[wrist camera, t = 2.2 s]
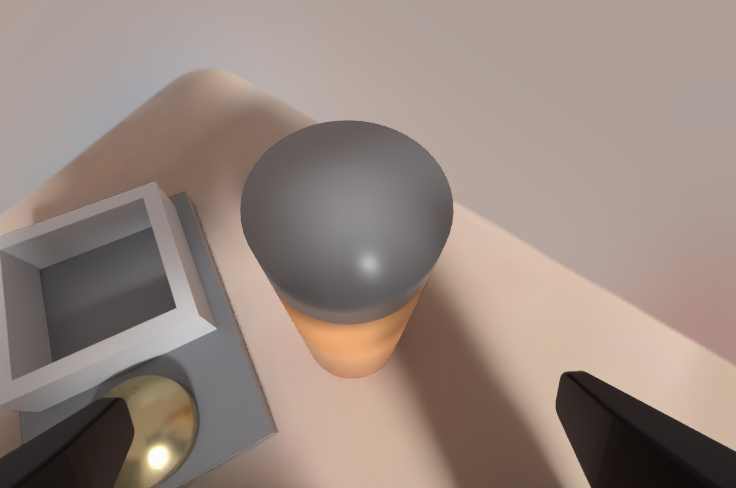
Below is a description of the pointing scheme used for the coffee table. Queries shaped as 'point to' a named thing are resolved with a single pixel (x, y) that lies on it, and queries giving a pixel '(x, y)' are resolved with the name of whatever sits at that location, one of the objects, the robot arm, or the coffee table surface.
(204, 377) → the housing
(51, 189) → the coffee table surface
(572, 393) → the robot arm
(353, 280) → the peg
